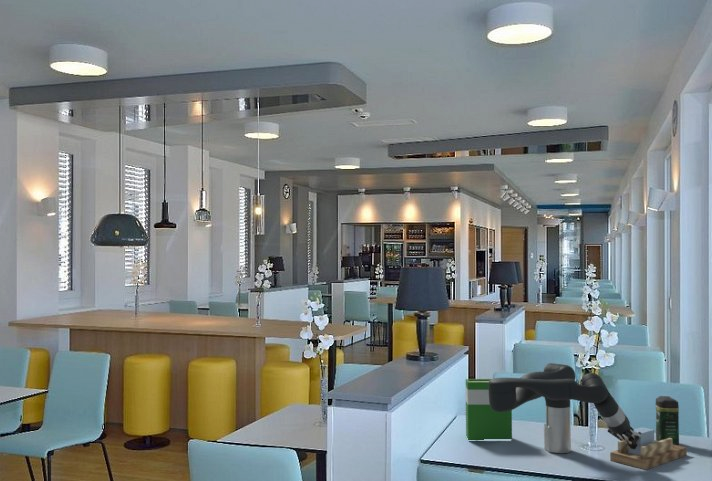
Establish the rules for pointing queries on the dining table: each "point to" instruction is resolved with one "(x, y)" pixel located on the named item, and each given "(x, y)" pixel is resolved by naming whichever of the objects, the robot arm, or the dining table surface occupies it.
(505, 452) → the dining table surface
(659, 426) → the coffee jar
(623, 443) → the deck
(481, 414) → the hardback book
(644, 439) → the block
